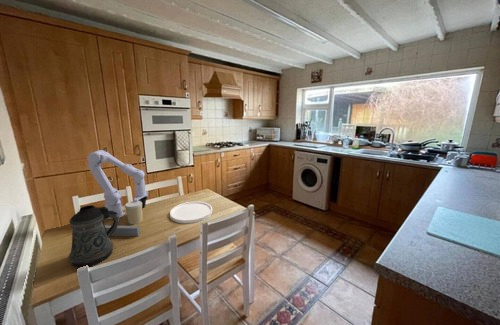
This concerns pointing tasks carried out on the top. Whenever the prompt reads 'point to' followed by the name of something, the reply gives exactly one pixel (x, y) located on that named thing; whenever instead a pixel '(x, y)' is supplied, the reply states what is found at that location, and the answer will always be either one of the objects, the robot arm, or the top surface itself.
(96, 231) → the beer stein
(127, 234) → the plank
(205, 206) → the plate
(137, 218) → the coffee cup
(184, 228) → the top surface
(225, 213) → the top surface
